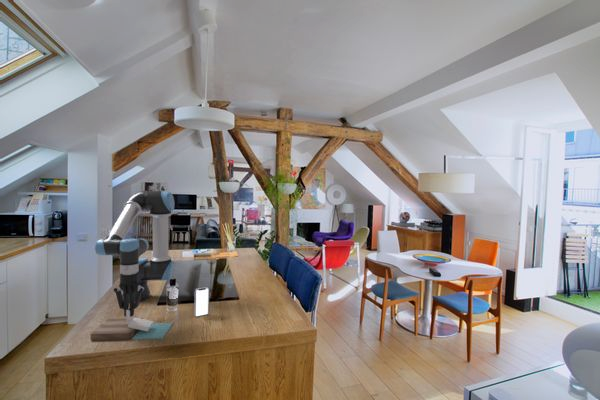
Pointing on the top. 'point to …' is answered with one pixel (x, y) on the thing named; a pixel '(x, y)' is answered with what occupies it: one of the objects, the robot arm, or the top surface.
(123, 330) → the brown wooden flat block
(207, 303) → the mobile phone
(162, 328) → the mat
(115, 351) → the top surface
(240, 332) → the top surface
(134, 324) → the white slab
